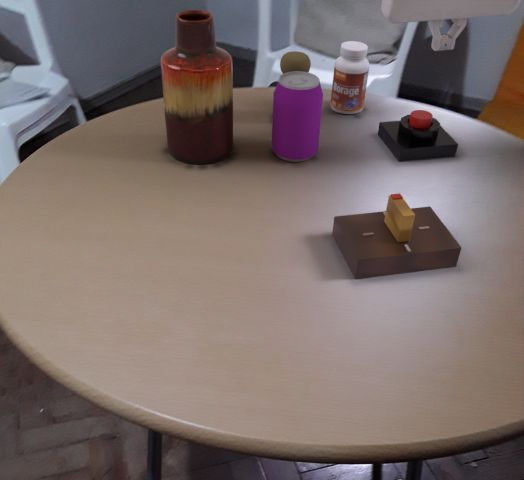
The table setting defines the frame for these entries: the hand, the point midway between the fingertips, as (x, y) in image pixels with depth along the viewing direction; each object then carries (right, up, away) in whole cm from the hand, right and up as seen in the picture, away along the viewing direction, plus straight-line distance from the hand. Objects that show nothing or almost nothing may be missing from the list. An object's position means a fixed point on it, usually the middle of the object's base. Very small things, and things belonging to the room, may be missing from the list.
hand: (442, 49), depth 95 cm
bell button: (-1, -8, +9) cm, 12 cm away
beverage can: (-22, -13, +9) cm, 27 cm away
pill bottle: (-11, -1, +22) cm, 25 cm away
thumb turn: (-10, -30, -12) cm, 34 cm away
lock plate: (-10, -32, -10) cm, 35 cm away
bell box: (-1, -11, +12) cm, 16 cm away
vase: (-37, -12, +9) cm, 40 cm away
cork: (-22, -4, +18) cm, 29 cm away
